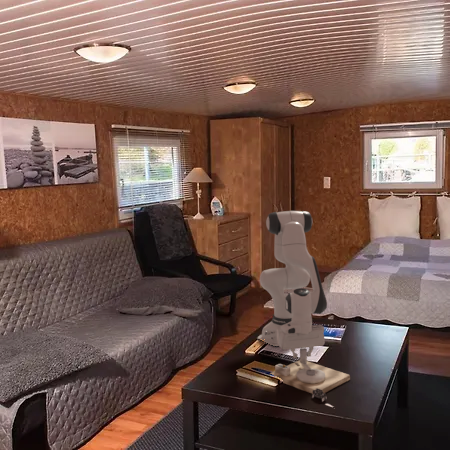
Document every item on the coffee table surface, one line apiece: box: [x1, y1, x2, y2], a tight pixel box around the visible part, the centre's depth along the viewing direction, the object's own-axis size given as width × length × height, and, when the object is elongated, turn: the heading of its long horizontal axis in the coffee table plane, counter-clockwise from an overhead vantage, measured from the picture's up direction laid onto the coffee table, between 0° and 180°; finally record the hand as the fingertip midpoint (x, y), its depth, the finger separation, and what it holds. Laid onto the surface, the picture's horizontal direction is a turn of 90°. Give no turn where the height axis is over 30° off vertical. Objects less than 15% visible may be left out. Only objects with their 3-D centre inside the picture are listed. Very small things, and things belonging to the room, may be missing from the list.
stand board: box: [269, 359, 351, 395], centre depth 224 cm, size 26×22×6 cm
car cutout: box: [311, 388, 334, 408], centre depth 203 cm, size 15×7×4 cm, turn 47°
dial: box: [296, 347, 325, 384], centre depth 223 cm, size 20×12×9 cm, turn 9°
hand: (302, 356), depth 229 cm, fingers open, 5 cm apart
